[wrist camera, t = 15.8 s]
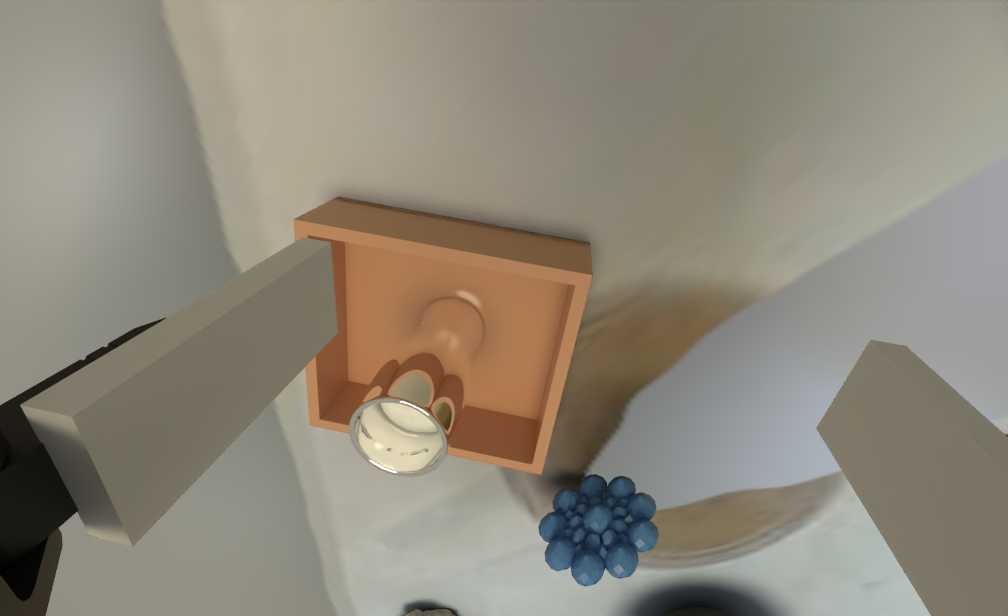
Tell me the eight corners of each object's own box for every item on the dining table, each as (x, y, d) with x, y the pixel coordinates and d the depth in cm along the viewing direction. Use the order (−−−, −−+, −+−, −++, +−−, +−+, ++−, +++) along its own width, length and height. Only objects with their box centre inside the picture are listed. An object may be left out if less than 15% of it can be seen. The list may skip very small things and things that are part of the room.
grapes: (547, 504, 53) (540, 611, 42) (540, 461, 50) (530, 565, 39) (651, 504, 50) (671, 617, 40) (649, 459, 48) (671, 568, 37)
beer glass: (492, 298, 40) (452, 406, 27) (486, 362, 44) (448, 487, 30) (416, 287, 41) (341, 388, 28) (416, 352, 44) (349, 469, 31)
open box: (589, 243, 38) (592, 275, 32) (545, 422, 47) (541, 474, 41) (338, 197, 39) (293, 219, 33) (343, 380, 48) (309, 425, 42)
